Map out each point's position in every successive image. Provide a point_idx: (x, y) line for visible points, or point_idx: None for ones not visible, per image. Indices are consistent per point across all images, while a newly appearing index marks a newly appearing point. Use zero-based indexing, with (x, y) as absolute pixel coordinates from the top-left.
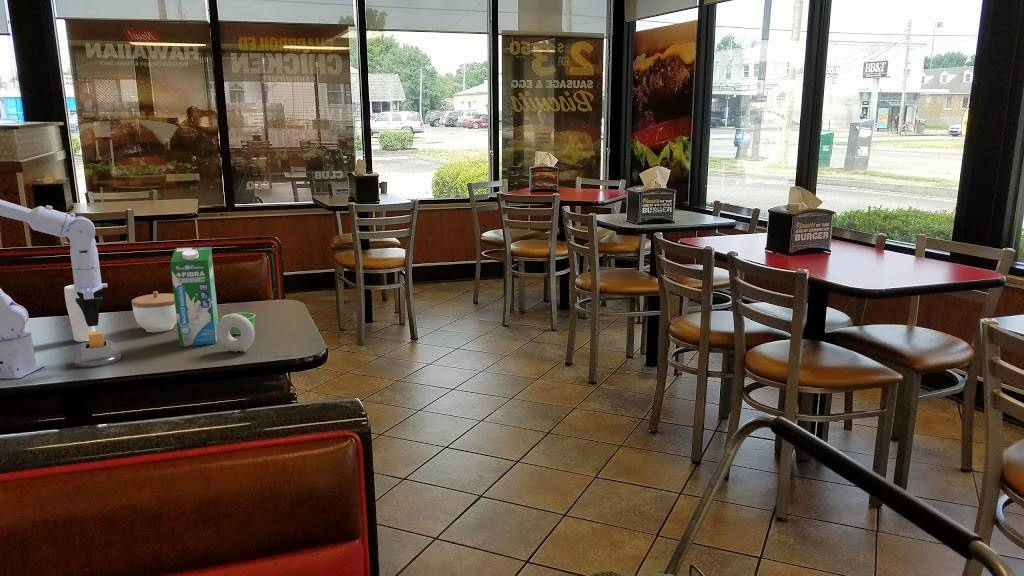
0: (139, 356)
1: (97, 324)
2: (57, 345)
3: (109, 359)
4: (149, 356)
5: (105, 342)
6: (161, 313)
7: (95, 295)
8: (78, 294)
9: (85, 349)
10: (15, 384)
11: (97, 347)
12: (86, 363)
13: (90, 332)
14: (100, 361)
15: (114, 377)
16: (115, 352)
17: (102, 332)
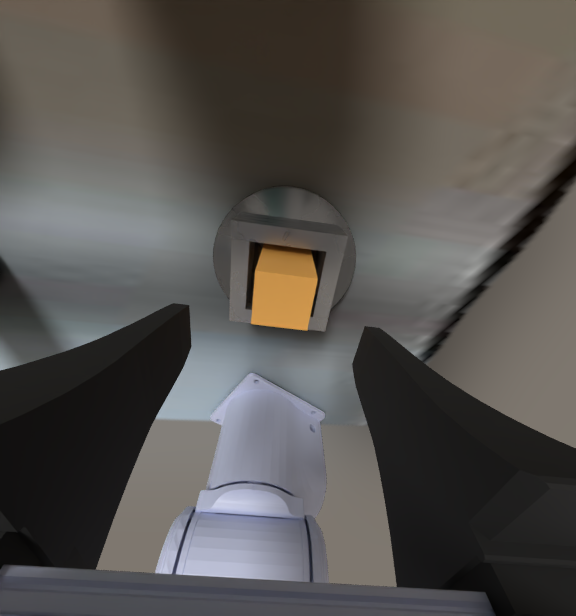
0: (315, 111)
1: (385, 332)
2: (28, 332)
3: (351, 237)
4: (345, 65)
5: (249, 243)
6: None
7: (74, 446)
8: (93, 567)
9: (327, 319)
10: (358, 417)
11: (328, 283)
12: (337, 301)
13: (256, 317)
14: (354, 266)
15: (507, 244)
16: (266, 203)
17: (279, 272)
